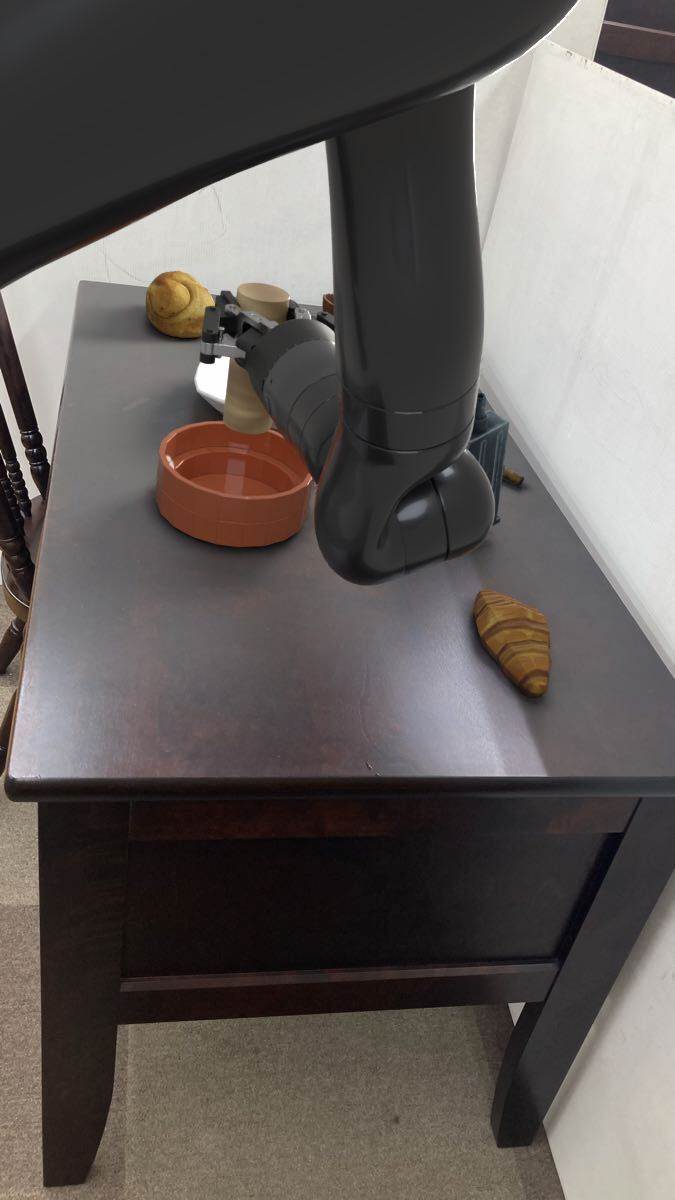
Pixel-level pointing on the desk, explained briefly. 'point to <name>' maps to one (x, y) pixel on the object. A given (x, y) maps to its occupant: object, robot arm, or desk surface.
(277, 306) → the tan cylinder
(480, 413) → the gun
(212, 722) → the desk surface
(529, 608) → the croissant
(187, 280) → the bread roll
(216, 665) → the desk surface
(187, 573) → the desk surface
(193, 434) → the clay bowl
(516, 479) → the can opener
